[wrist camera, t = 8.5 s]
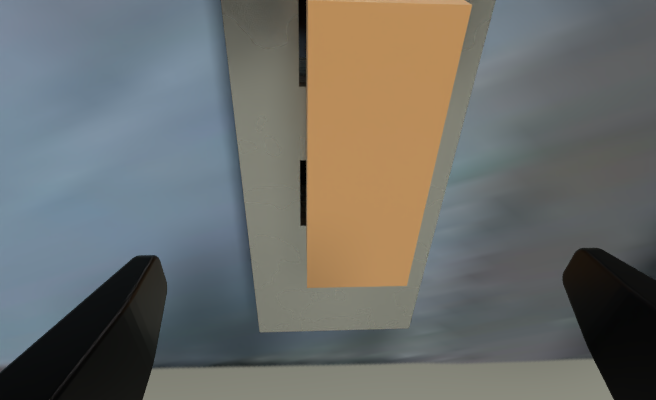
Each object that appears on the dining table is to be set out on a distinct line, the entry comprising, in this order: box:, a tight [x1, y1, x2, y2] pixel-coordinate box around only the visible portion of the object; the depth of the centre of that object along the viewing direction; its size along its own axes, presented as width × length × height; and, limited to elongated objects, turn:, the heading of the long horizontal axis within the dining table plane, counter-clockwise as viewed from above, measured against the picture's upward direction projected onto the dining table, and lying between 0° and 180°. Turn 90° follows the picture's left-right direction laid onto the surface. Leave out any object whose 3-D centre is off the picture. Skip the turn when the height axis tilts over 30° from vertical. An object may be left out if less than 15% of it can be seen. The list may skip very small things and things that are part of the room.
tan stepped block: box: [306, 0, 472, 288], centre depth 14 cm, size 4×9×6 cm, turn 178°
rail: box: [221, 0, 496, 332], centre depth 15 cm, size 8×24×3 cm, turn 178°
